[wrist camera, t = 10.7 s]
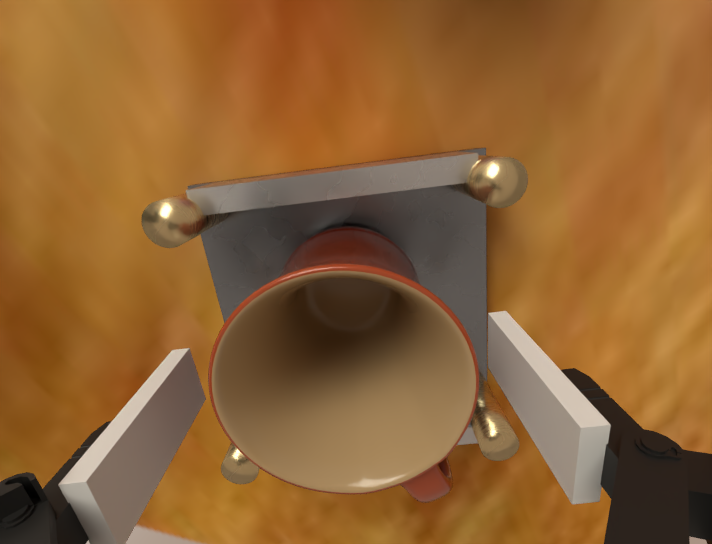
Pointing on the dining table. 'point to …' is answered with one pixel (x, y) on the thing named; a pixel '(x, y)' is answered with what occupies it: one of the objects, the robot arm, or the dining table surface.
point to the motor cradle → (367, 210)
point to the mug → (346, 372)
